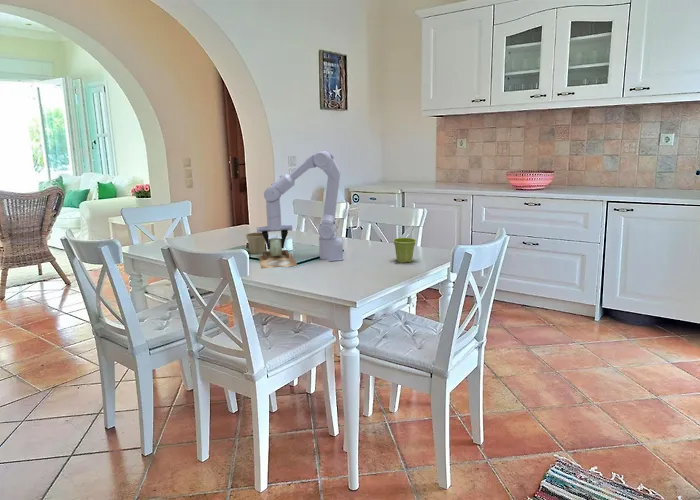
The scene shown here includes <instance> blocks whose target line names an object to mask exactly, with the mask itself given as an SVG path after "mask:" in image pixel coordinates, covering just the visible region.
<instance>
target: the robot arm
mask: <svg viewBox="0 0 700 500" xmlns="http://www.w3.org/2000/svg"><path fill="white" fill-rule="evenodd" d="M313 168H319V169H320V170H322V171H323V173H325V174H326V176H327V181H326V189H325V199H324V208H323V215H322V218H321V224H320V226H319V227H318V230H317V231H318V235H319V236H318V246H319V259H321V260H324V261H325V260H327V261H328V262H333V261H335V262H337V261H344V252H343V249H344V248H343V247H344V245H343V239H342V237H338V236H337V235H336V232H337V224H336V210H337V203H338V193H339V187H340V180H341V179H340V178H341V170H340V168H339V166H338V164H337V161H336V159H335V157H334V156H333V154H332V153H331V152H330V151H328V150H320V151H317V152H315V154H312V155H311V156H309V157H308V158H306V159H305V160H303V162H302V163H300V164H299V166H297V167H296V168H295V169H294V170H293V171H292V172H291V173H290V174H288V173H285V174H281V175H280V176H279V179H277V180H275V182H273V183H271V184H270V185H271V186H269V187H266V189H265V190H264V192H263V198H264V199H265V203H266V205H265V207H266V209H265V210H266V224H267V226H260V227H259V226H257V227H256V233H260V232H261V233H262V235H263V237H264V239H265V241H266V246H267V250H269V249H270V247H269V239H270V238H269V232H280V237H281V239H282V249H285V242H286V239H287V236H288V233H289V231H293V225H291V224H290V225H282V214H281V213H282V211H281V210H282V209H281V201H280V200H281V197H282V196H283V195H285V193H287V192H288V191H289V190H290V189H291V188H293V187H294V186H295V181H296V180H297V179H299V177H301V176H302V175H304V174H305V173H306V172H307V171H308V170H309V169H313Z"/></svg>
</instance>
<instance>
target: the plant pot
mask: <svg viewBox="0 0 700 500" xmlns="http://www.w3.org/2000/svg"><path fill="white" fill-rule="evenodd" d="M392 242H393V244H394V249H395V257H396V261H397V262H398V263H404V264H405V263H411V262H412V261H413V255H414V251H415V250H414V249H415V246H416V242H417V239H416V238H412V237H397V238H394V239H392Z"/></svg>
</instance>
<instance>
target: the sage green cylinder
mask: <svg viewBox="0 0 700 500" xmlns="http://www.w3.org/2000/svg"><path fill="white" fill-rule="evenodd" d="M269 247H270V249H268V251H270V255H271V256H279V255H282V250H283V248H282V238H280V237H272V238H269Z"/></svg>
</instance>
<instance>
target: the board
mask: <svg viewBox="0 0 700 500" xmlns="http://www.w3.org/2000/svg"><path fill="white" fill-rule="evenodd" d="M258 260H259V264H260V269H261V270H262V269H273V268H288V267H298V263H297V262H296V260H295V257H294V256H293V253H292V252H291V253H289V251H288V249H282V255H279V256H271V255H270V250H265V251H263V253H262V254H261V255H260V254H259V255H258Z"/></svg>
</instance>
